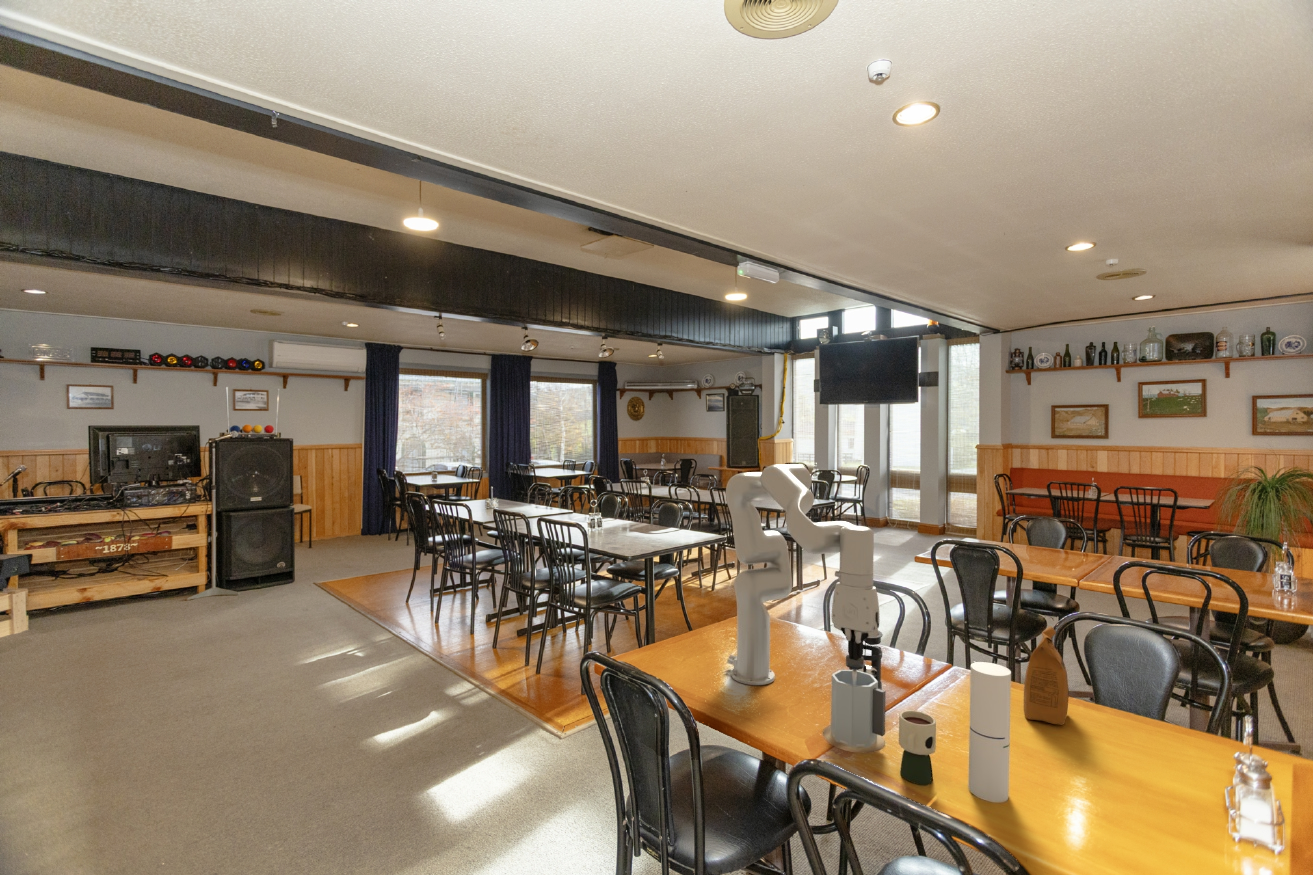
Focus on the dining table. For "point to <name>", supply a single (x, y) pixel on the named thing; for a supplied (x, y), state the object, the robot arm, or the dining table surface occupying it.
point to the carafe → (856, 709)
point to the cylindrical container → (989, 731)
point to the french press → (873, 658)
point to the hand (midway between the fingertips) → (855, 657)
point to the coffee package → (1046, 683)
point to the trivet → (874, 748)
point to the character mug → (917, 745)
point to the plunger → (854, 667)
